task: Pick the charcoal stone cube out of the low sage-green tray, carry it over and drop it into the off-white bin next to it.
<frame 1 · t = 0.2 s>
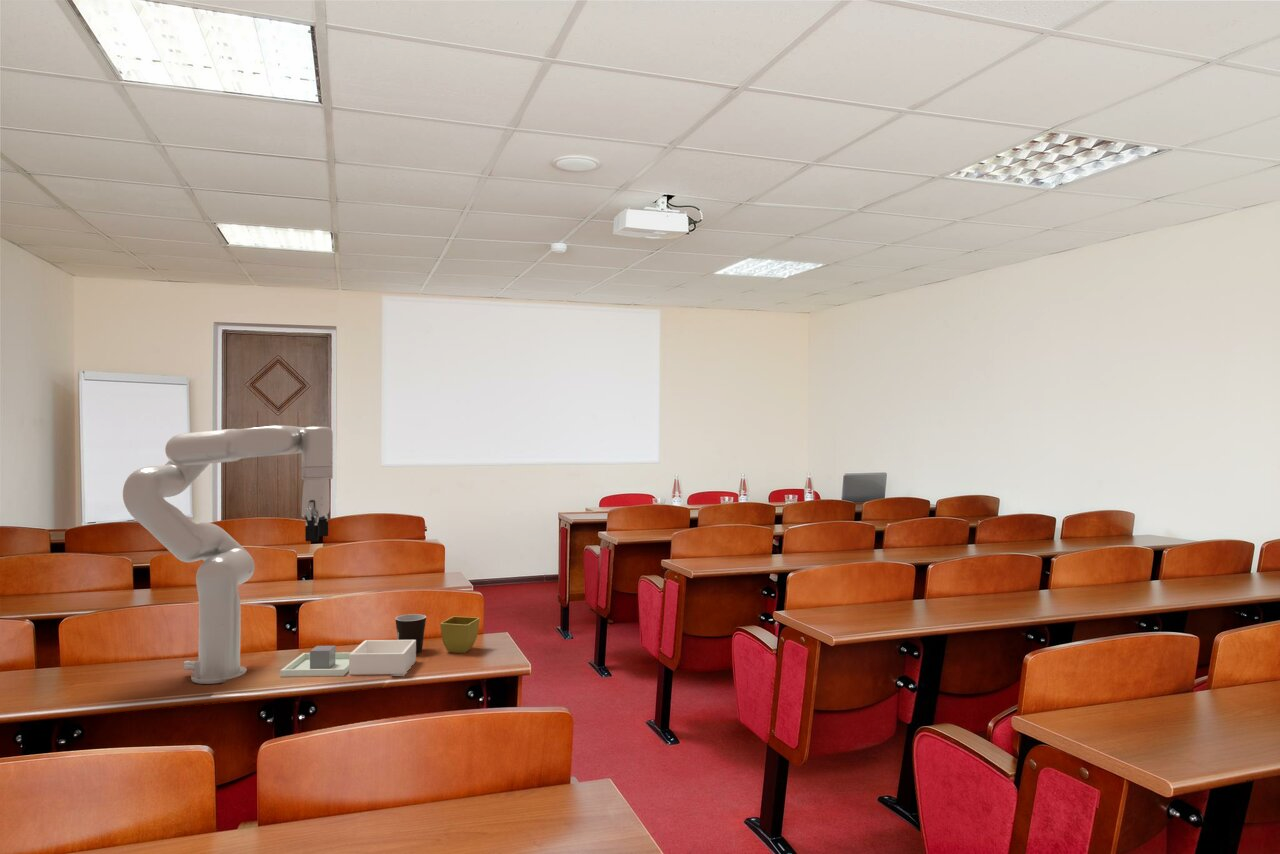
hand: (317, 538, 202), 36 cm above the table, tool pointing down, fingers open, 9 cm apart
flower pot: (459, 651, 226), on the table
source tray: (322, 669, 206), on the table
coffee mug: (412, 651, 226), on the table
stone cube: (322, 666, 206), point 1 cm above the table, touching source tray
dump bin: (383, 669, 207), on the table
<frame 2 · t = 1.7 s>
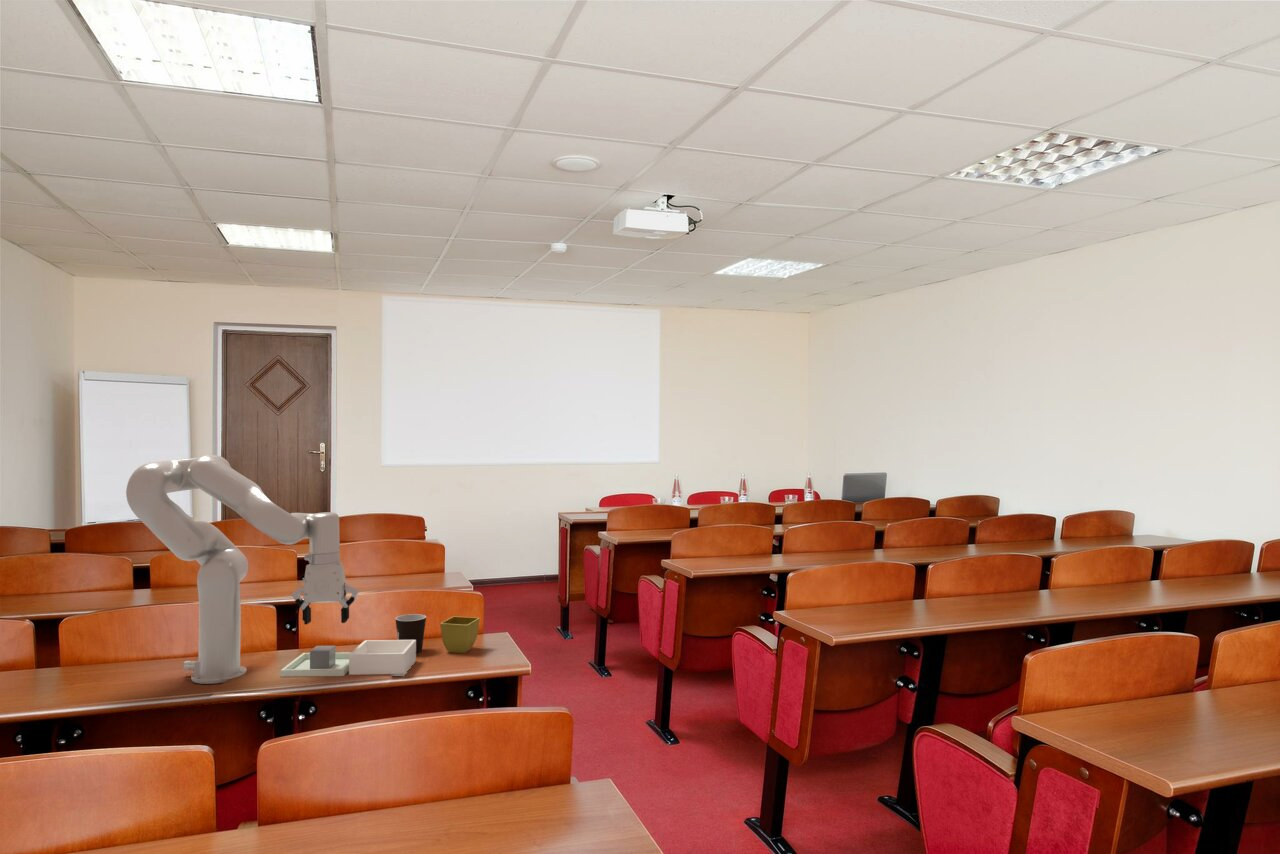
hand: (326, 622, 207), 13 cm above the table, tool pointing down, fingers open, 9 cm apart
nothing on the table moved.
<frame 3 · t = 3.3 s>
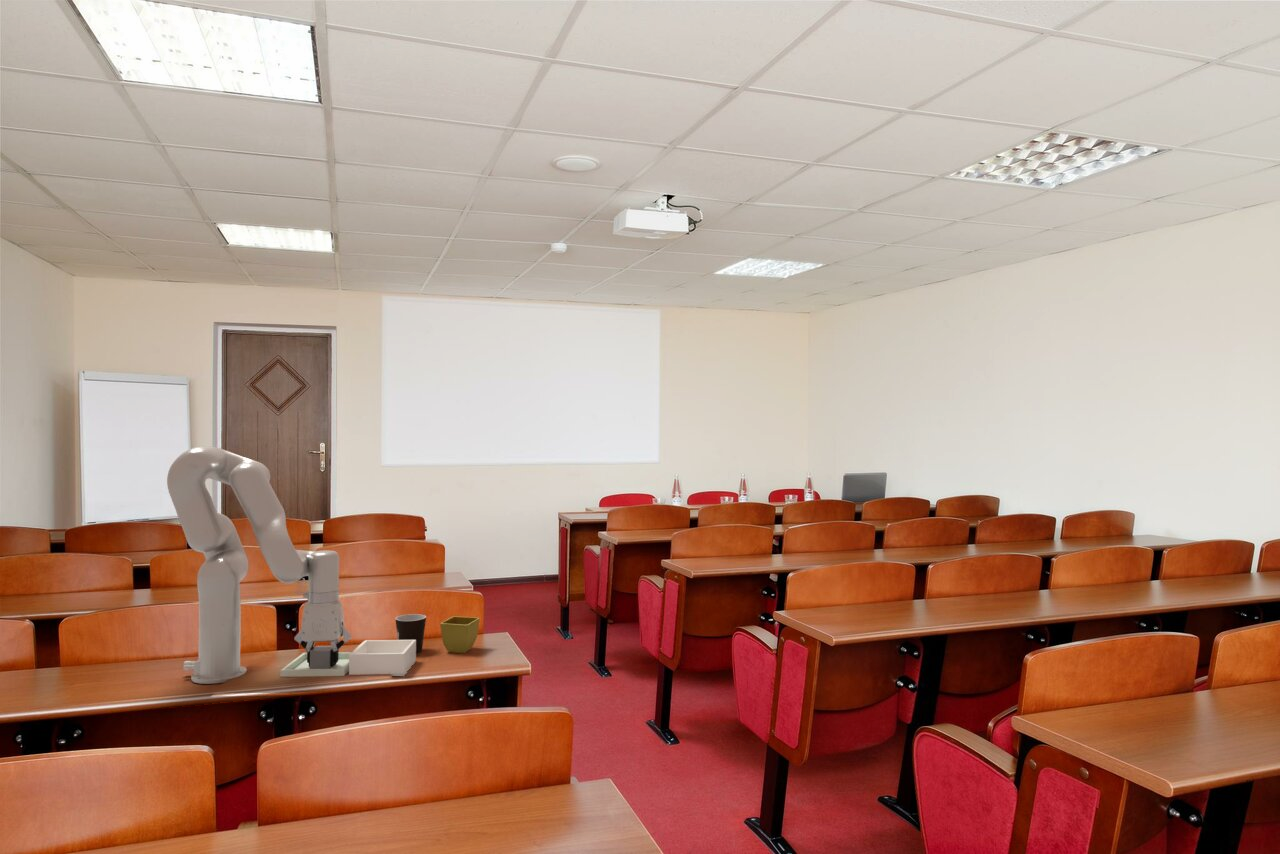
hand: (322, 664, 206), 1 cm above the table, tool pointing down, fingers closed on stone cube, 5 cm apart
stone cube: (322, 666, 206), point 1 cm above the table, touching gripper, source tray
everything else where it was.
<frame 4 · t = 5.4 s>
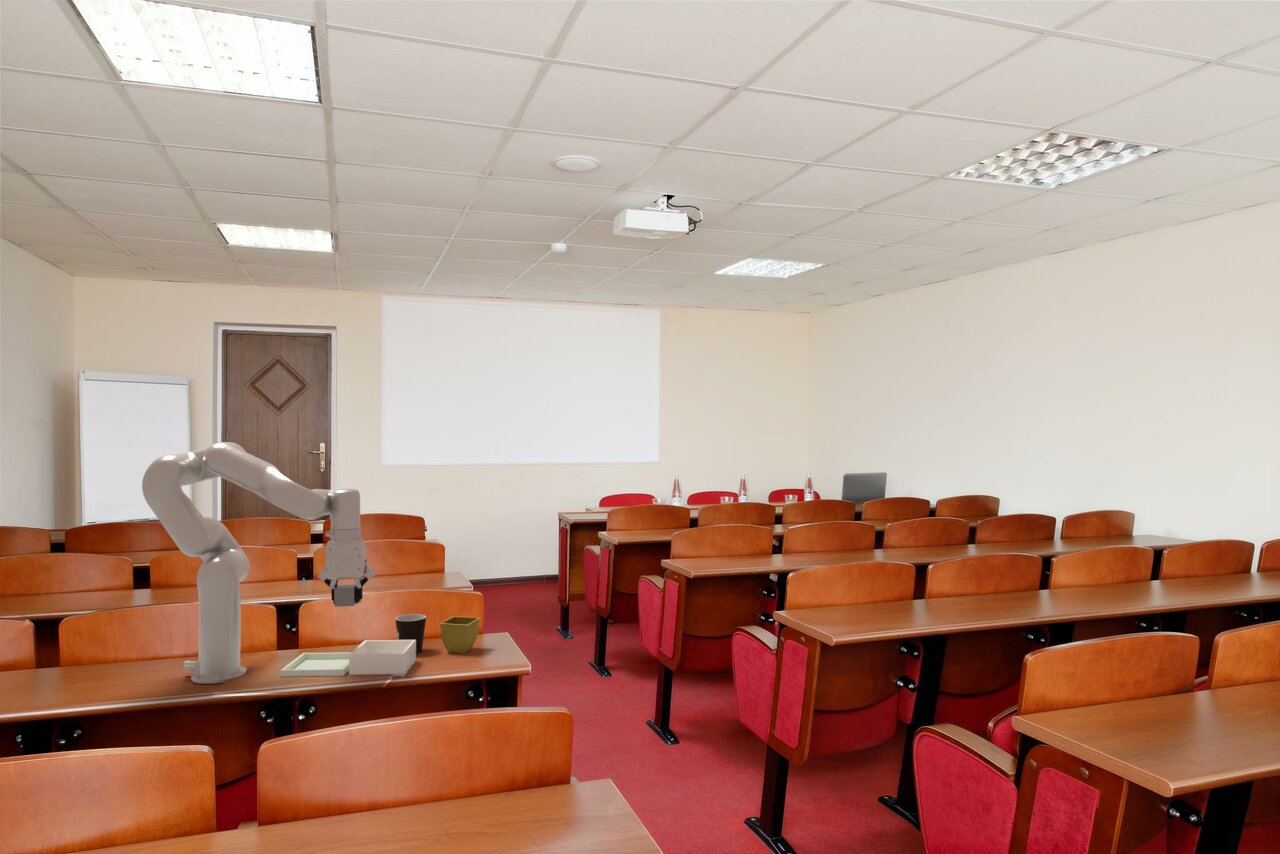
hand: (347, 601, 207), 18 cm above the table, tool pointing down, fingers closed on stone cube, 5 cm apart
stone cube: (347, 604, 207), point 17 cm above the table, touching gripper
everything else where it was.
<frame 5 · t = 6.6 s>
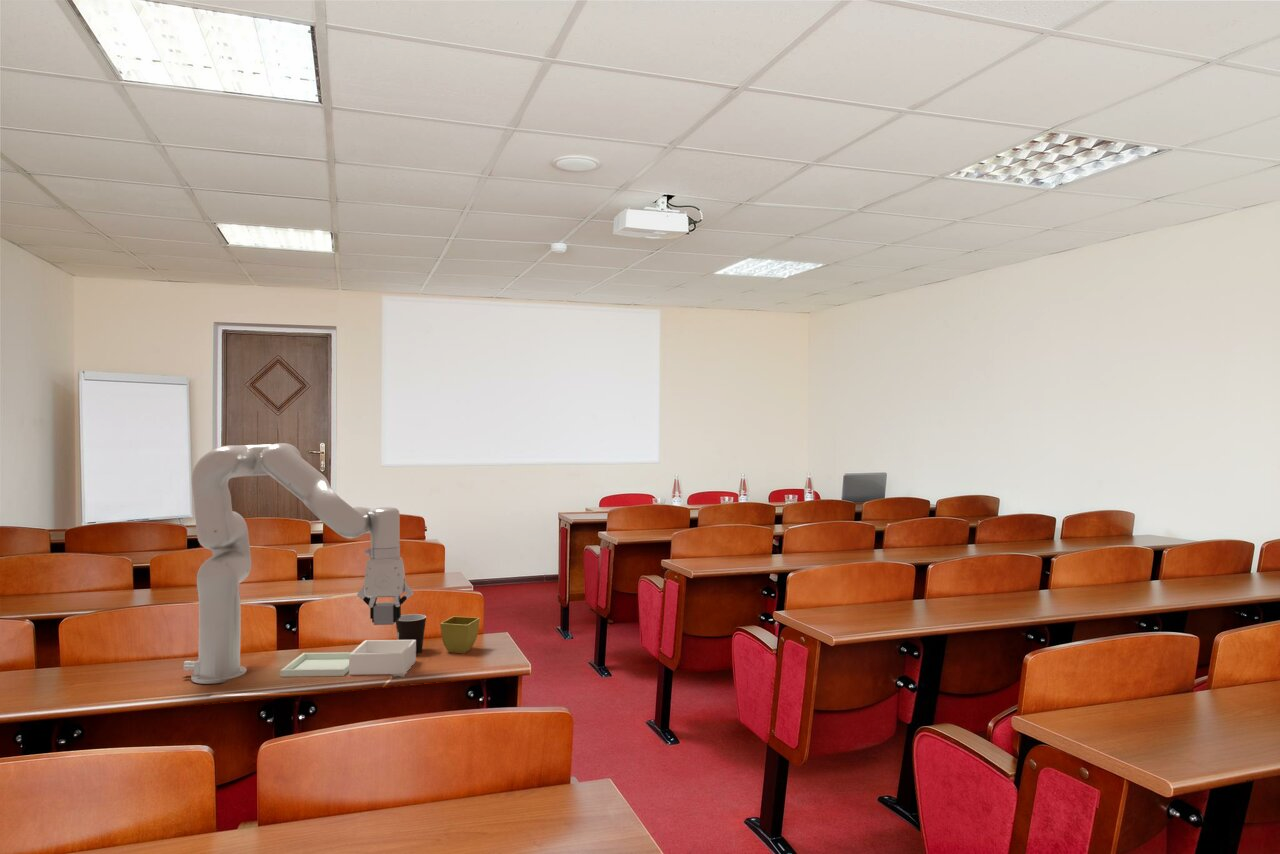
hand: (385, 620, 208), 13 cm above the table, tool pointing down, fingers closed on stone cube, 5 cm apart
stone cube: (385, 622, 208), point 12 cm above the table, touching gripper
everything else where it was.
when the fingers open (8 cm above the table, at t = 7.4 s): stone cube drops 7 cm, resting on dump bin.
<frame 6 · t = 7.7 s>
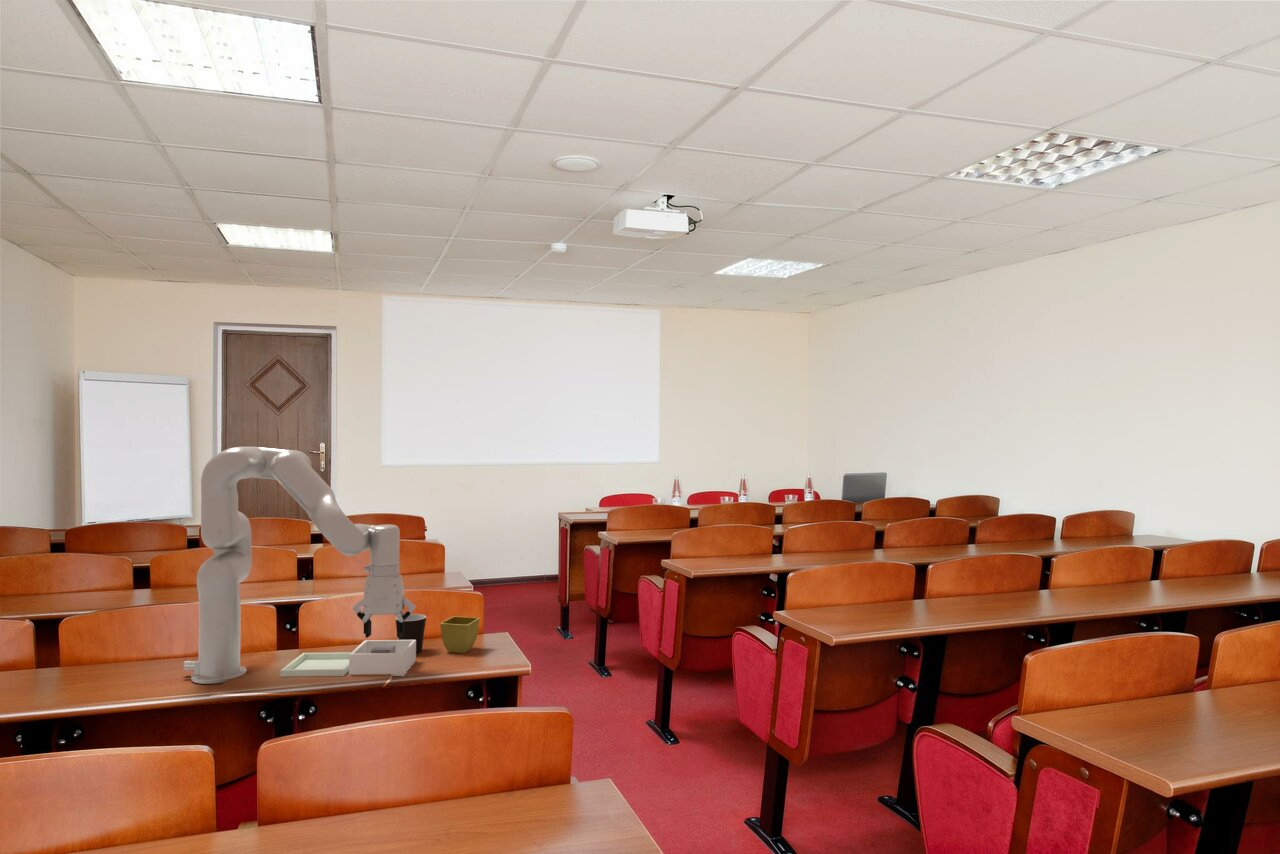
hand: (383, 635, 208), 9 cm above the table, tool pointing down, fingers open, 7 cm apart
stone cube: (383, 666, 207), point 1 cm above the table, touching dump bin
everything else where it was.
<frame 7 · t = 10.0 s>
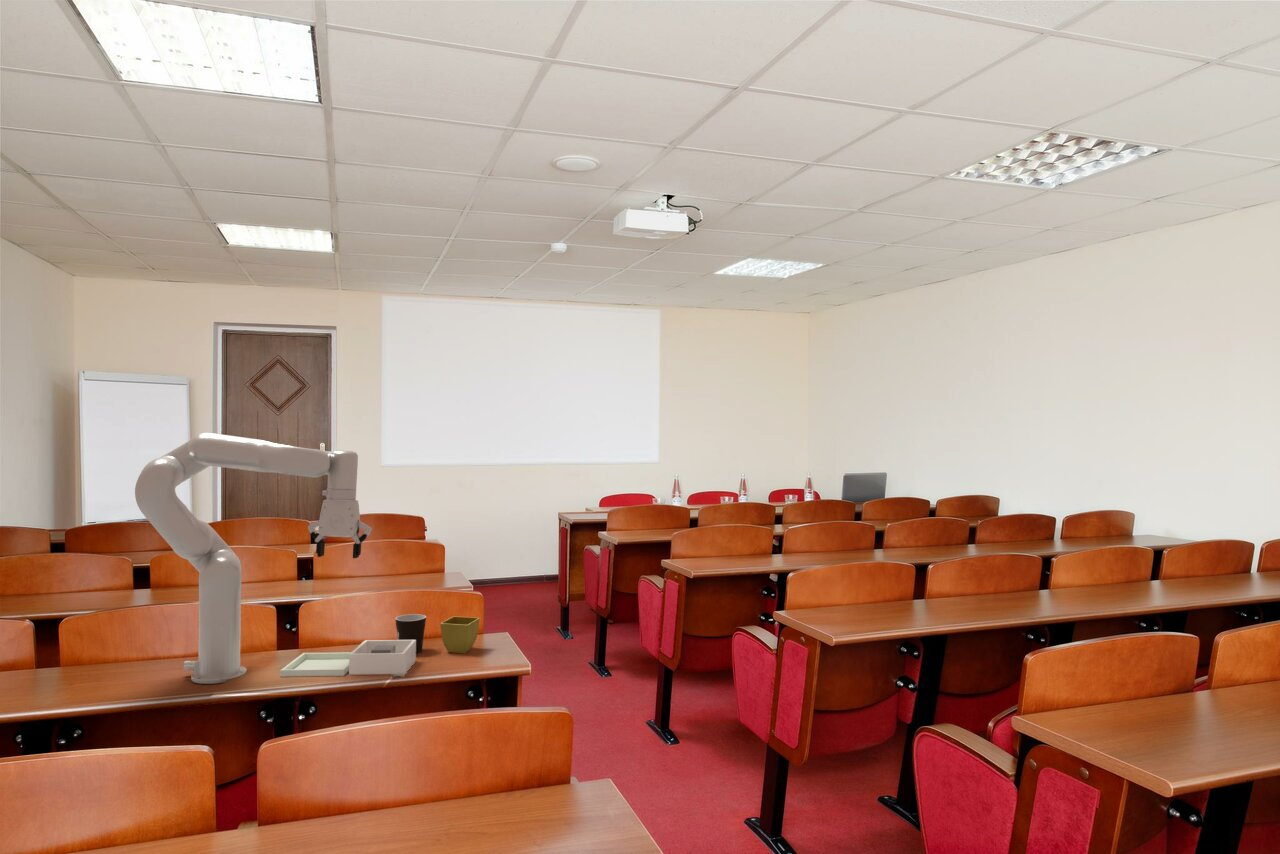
hand: (338, 557, 213), 29 cm above the table, tool pointing down, fingers open, 9 cm apart
nothing on the table moved.
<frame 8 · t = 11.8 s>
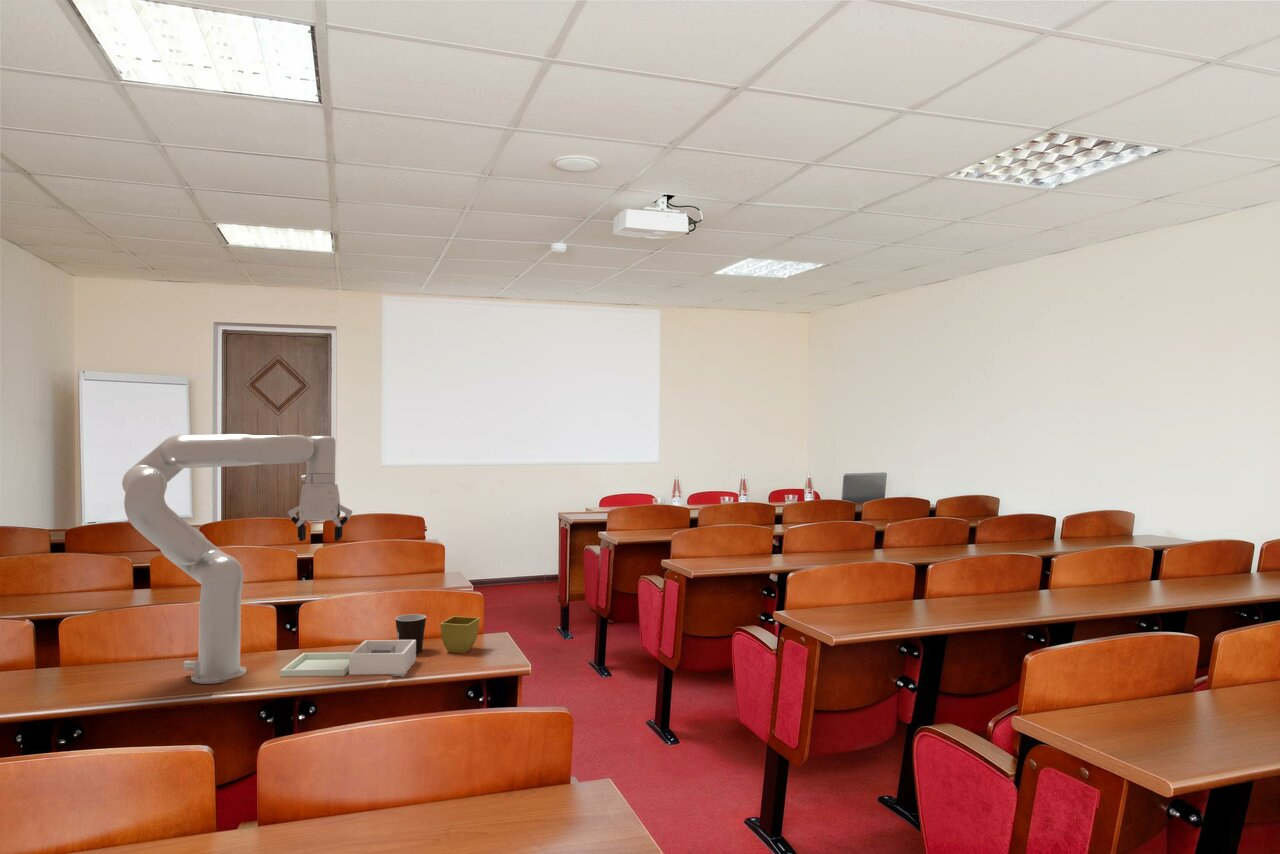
hand: (320, 540, 216), 33 cm above the table, tool pointing down, fingers open, 9 cm apart
nothing on the table moved.
at the end: stone cube inside the target area on the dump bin (0.1 cm from its centre), point 0.8 cm above the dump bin's base; the gripper is holding nothing; stone cube touching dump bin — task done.
